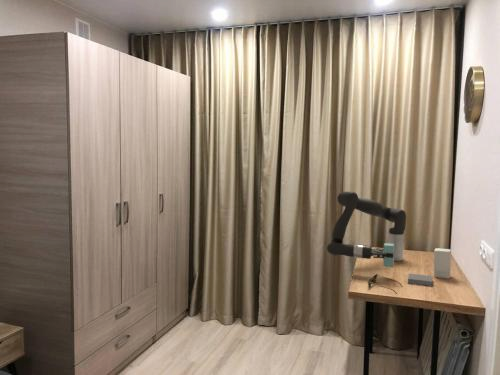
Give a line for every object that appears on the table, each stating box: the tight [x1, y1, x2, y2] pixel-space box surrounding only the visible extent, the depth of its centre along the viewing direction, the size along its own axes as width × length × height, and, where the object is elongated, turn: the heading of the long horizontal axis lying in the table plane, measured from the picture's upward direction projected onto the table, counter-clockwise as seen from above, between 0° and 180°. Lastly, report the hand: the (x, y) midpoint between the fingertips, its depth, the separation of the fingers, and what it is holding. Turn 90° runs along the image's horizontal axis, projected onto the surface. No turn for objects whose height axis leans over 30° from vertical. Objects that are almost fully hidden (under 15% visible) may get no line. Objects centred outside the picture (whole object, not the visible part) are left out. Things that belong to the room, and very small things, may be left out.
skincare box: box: [433, 247, 452, 280], centre depth 229 cm, size 8×7×16 cm
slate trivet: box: [407, 273, 433, 287], centre depth 221 cm, size 10×12×2 cm
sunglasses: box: [367, 273, 404, 294], centre depth 212 cm, size 14×15×5 cm
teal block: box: [382, 242, 395, 268], centre depth 228 cm, size 5×5×12 cm
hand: (393, 254), depth 227 cm, fingers closed on teal block, 5 cm apart
